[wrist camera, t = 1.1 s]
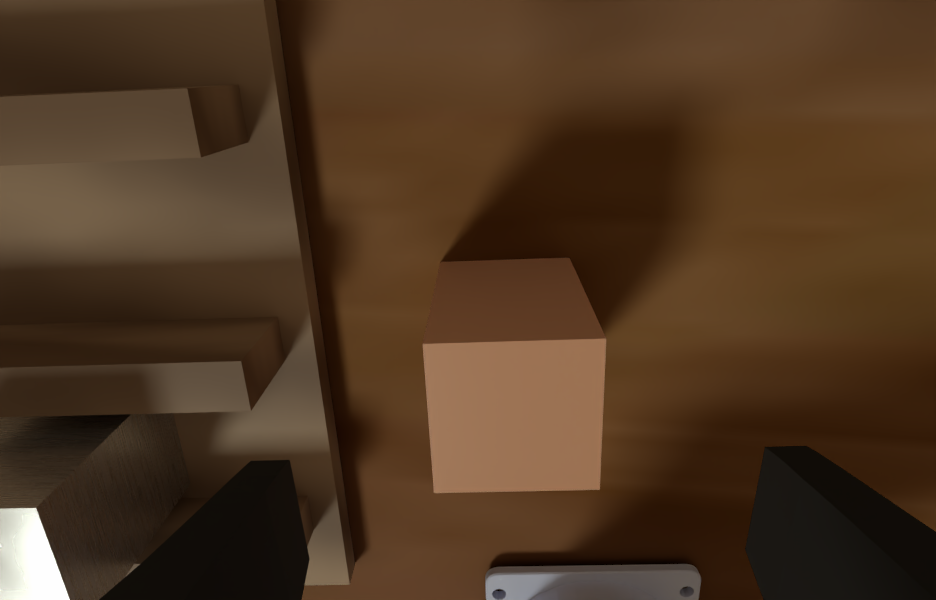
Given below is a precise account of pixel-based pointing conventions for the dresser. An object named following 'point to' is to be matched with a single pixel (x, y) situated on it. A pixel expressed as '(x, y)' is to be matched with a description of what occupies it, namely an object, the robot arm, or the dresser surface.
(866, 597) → the robot arm
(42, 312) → the cable comb
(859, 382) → the dresser surface
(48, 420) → the grey plug
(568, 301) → the terracotta plug
